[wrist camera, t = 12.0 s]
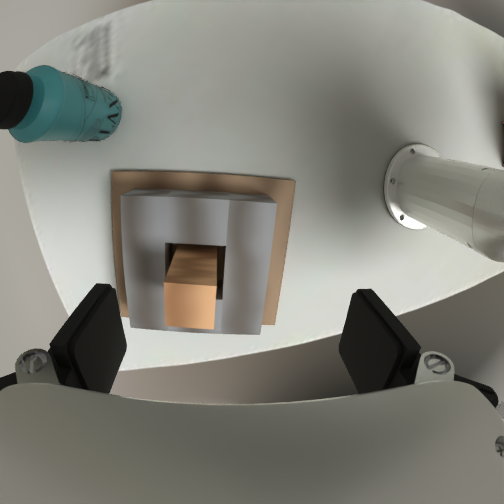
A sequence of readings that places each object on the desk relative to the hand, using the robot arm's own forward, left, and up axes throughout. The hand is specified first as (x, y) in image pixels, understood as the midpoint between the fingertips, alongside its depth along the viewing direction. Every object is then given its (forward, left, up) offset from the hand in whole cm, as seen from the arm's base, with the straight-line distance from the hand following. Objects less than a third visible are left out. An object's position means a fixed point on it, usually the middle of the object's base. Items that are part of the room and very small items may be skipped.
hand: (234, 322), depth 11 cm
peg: (+3, +7, -24) cm, 25 cm away
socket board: (+3, +7, -25) cm, 26 cm away
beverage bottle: (+16, -10, -25) cm, 31 cm away
